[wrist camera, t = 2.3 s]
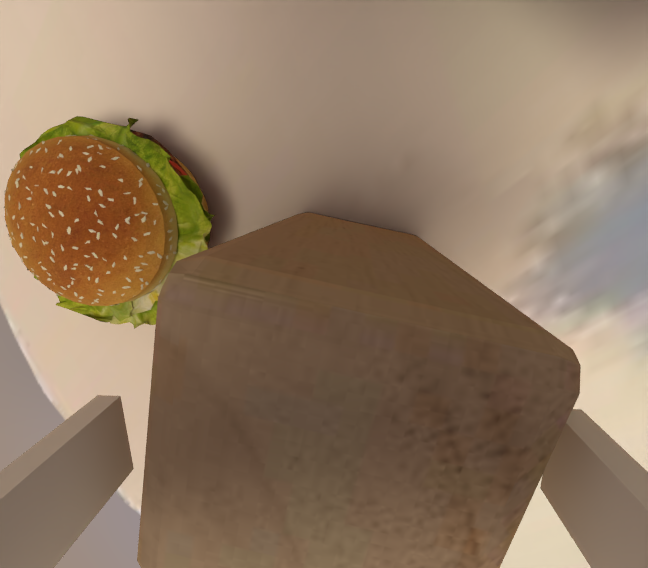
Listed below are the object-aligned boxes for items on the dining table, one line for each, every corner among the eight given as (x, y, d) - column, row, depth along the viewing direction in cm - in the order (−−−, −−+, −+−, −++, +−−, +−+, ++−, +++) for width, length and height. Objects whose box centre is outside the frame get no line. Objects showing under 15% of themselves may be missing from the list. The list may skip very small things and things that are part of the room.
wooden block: (275, 328, 29) (119, 593, 10) (297, 208, 27) (140, 253, 7) (393, 355, 29) (467, 683, 10) (426, 236, 26) (623, 361, 7)
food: (138, 334, 31) (65, 382, 23) (30, 195, 28) (-92, 196, 21) (265, 253, 28) (230, 276, 20) (156, 89, 25) (69, 45, 18)
